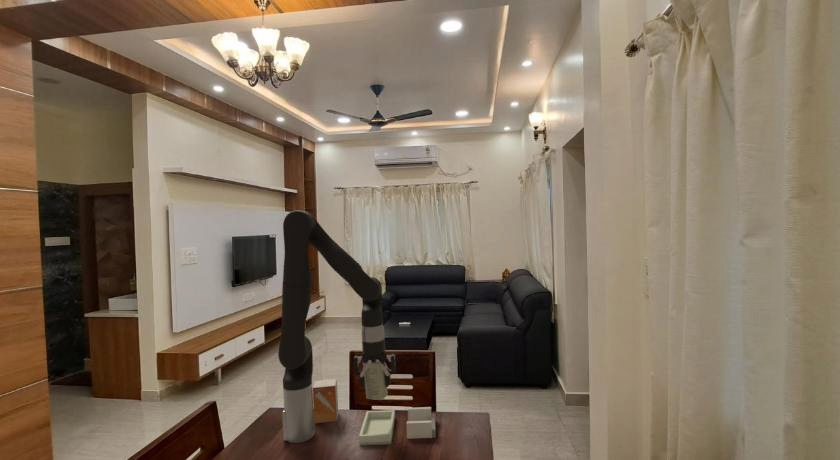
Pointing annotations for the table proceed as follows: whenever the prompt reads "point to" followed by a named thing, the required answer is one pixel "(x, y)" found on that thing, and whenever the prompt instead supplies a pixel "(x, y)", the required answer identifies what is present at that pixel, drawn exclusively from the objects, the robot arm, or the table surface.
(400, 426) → the table surface
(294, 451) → the table surface
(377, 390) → the skincare box
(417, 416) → the off-white card holder
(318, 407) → the small box
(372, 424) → the tray
